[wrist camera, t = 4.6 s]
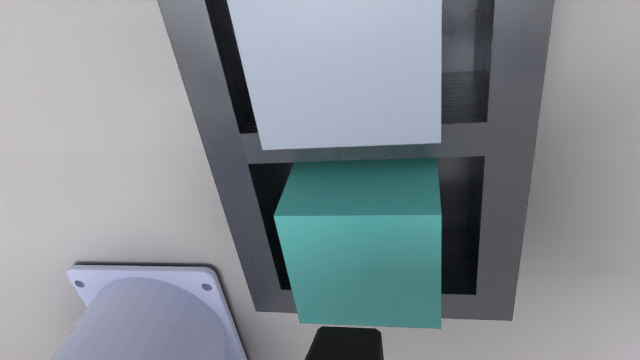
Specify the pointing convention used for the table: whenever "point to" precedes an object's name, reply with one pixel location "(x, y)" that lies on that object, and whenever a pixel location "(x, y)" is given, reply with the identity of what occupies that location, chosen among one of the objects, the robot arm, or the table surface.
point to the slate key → (341, 71)
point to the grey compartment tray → (388, 146)
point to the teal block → (363, 242)
